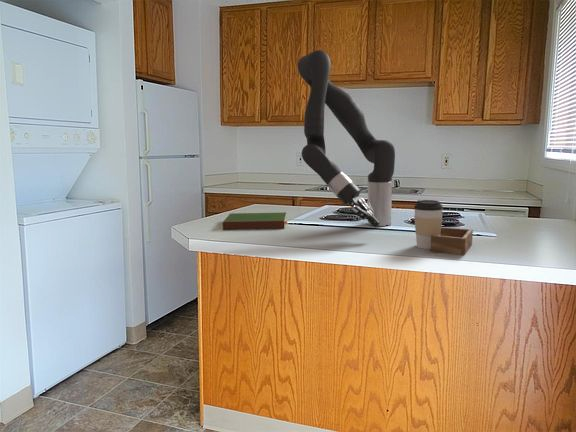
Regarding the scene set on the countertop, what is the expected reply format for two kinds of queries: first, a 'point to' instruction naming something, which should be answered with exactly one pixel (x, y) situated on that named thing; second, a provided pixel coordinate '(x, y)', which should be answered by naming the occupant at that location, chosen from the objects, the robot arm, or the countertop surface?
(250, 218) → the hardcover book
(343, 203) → the robot arm
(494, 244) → the countertop surface
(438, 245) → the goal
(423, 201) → the coffee cup
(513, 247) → the countertop surface
